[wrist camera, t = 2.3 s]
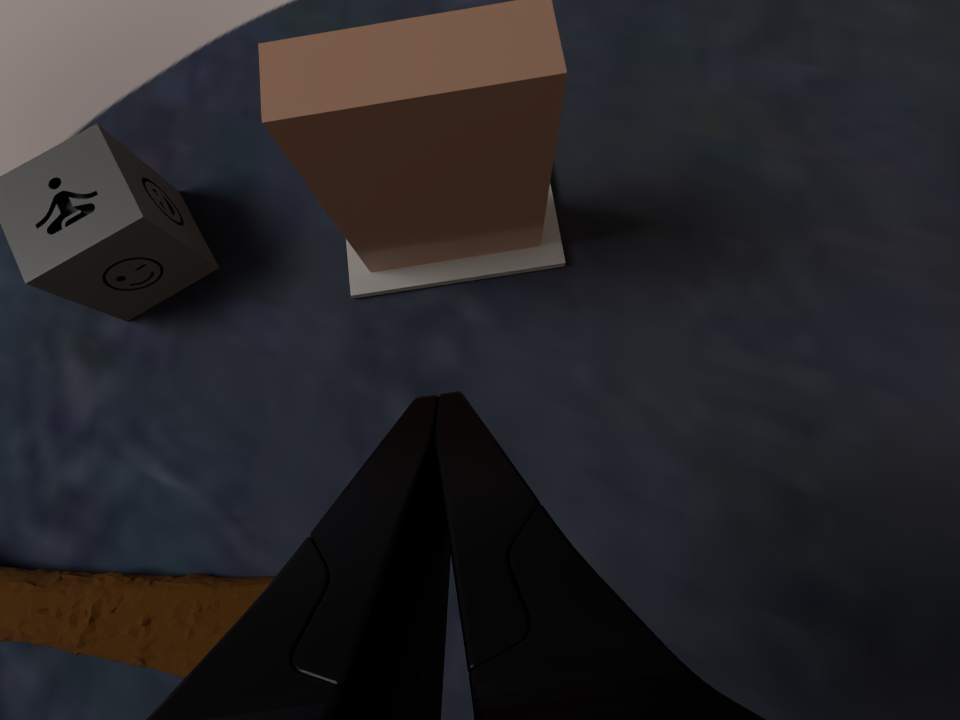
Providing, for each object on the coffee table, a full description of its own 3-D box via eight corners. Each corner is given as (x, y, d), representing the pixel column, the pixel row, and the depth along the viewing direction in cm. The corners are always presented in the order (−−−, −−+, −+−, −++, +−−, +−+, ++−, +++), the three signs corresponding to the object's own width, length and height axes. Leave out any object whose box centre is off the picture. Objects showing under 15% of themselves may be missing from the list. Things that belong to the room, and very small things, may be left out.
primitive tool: (383, 573, 20) (357, 597, 17) (368, 718, 19) (336, 777, 16) (-33, 534, 21) (-136, 549, 18) (-69, 668, 20) (-186, 711, 17)
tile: (540, 246, 22) (567, 72, 12) (370, 272, 22) (261, 122, 12) (530, 194, 22) (549, -12, 13) (365, 220, 23) (257, 37, 13)
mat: (564, 266, 22) (565, 262, 22) (353, 298, 22) (350, 295, 22) (520, 37, 25) (521, 30, 24) (333, 68, 25) (331, 62, 25)
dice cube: (128, 321, 23) (25, 283, 18) (91, 241, 24) (-16, 185, 19) (220, 268, 23) (143, 216, 18) (179, 191, 24) (96, 123, 19)
